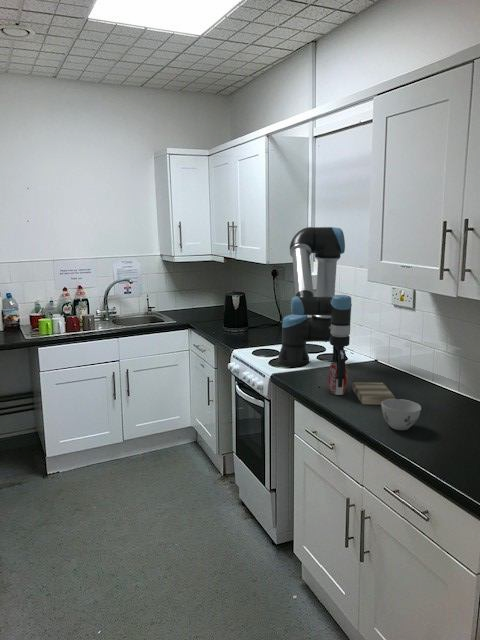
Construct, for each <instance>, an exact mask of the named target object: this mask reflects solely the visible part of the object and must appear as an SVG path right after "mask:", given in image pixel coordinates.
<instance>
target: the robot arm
mask: <svg viewBox="0 0 480 640" xmlns="http://www.w3.org/2000/svg"><path fill="white" fill-rule="evenodd" d="M345 242H346V240H345V235H344V231H343V230H342V228H340V227H333V226H332V227H331V226H323V227H322V226H321V227H318V226H317V227H312V226H308V227H304V228H302V229H301V230H299V231H298V232H297V233H296V234H294V236H293V237H292V240H291V241H290V244H289V255H290V257H291V258H292V267H293V269H292V270H293V281H294V296H292V297H291V299H290V312H291V314H289V315H285V316H284V317H283V319H282V325H281V328H282V330H281V332H282V334H281V335H282V336H281V337H282V339H281V348H280V351H279V354H278V357H277V362H278V364H280V365H282V366H286V367H287V366H288V367H304V366H307V365H309V364H310V356H309V353H308V352H309V351H308V349H307V342H311V343H312V342H314V343H315V342H316V343H317V342H319V343H320V342H321V343H322V342H324V343H328V342H329V345H331V346H332V359H331V363H332V362H337V377H335V379H336V393H335V394H334V395H335V396H336V395H337V396H339V395H341V396H343V395H344V393H343V380H344V379H345V363H346V359H347V358H346V357H347V354H346V350H345V347H348V346H350V338H351V337H350V336H349V335H351V319H352V317H351V315H352V306H353V305H352V304H353V303H352V296H351V295H347V294H336V279H337V265H338V264H337V262H338V260H340V258H341V255H343V254H344V253H345V251H346V250H345V249H346V243H345ZM311 254H314V258H315V259H316V260H317V273H316V290H315V291H316V292H315V296H314V286H313V285H314V284H313V276H312V275H313V274H312V268H311V267H312V266H311V265H312V264H311ZM308 316H309V317H308Z"/></svg>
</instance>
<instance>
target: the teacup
mask: <svg viewBox="0 0 480 640" xmlns="http://www.w3.org/2000/svg"><path fill="white" fill-rule="evenodd" d="M380 407H381V412H382V416H383V419H384V420H385V422H386V423H387V424H388V425H389V426H390V428H392V430H393V429H394V430H396V431H407V430H409V429H410V428H411V427H412V426H414V424H416V422H417V421H418V419H419V417H420V414H421V411H422V406H421V405H420V404H419V403H417V402H414V401H412V400H408V399H403V398H400V399H399V398H398V399H397V398H395V399H387V400H384V401H382V403H381V404H380Z"/></svg>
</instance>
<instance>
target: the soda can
mask: <svg viewBox="0 0 480 640" xmlns="http://www.w3.org/2000/svg"><path fill="white" fill-rule="evenodd" d="M335 377H337V362H332V361H331V364H330V365H329V371H328V391H329V392H330V393H331V394H333V395H336V394H335V393H336V379H335ZM347 384H348V367H347V363H346V362H345V379H344V380H343V394H345V393H346V392H347V386H348V385H347Z"/></svg>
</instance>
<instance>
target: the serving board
mask: <svg viewBox="0 0 480 640" xmlns="http://www.w3.org/2000/svg"><path fill="white" fill-rule="evenodd" d="M352 391H353V392H354V394H355V396H356V397H357V399H358V400H359V401H360V403H361V404H362V405H381V403H382V401H384V400H387V399H396V396H395V395H394V394H393V393H392V392H391V390H390V389H389V388H388V387H387V385H385V383H383V382H360V381H359V382H358V381H357V382H355V381H354V382H352Z"/></svg>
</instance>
